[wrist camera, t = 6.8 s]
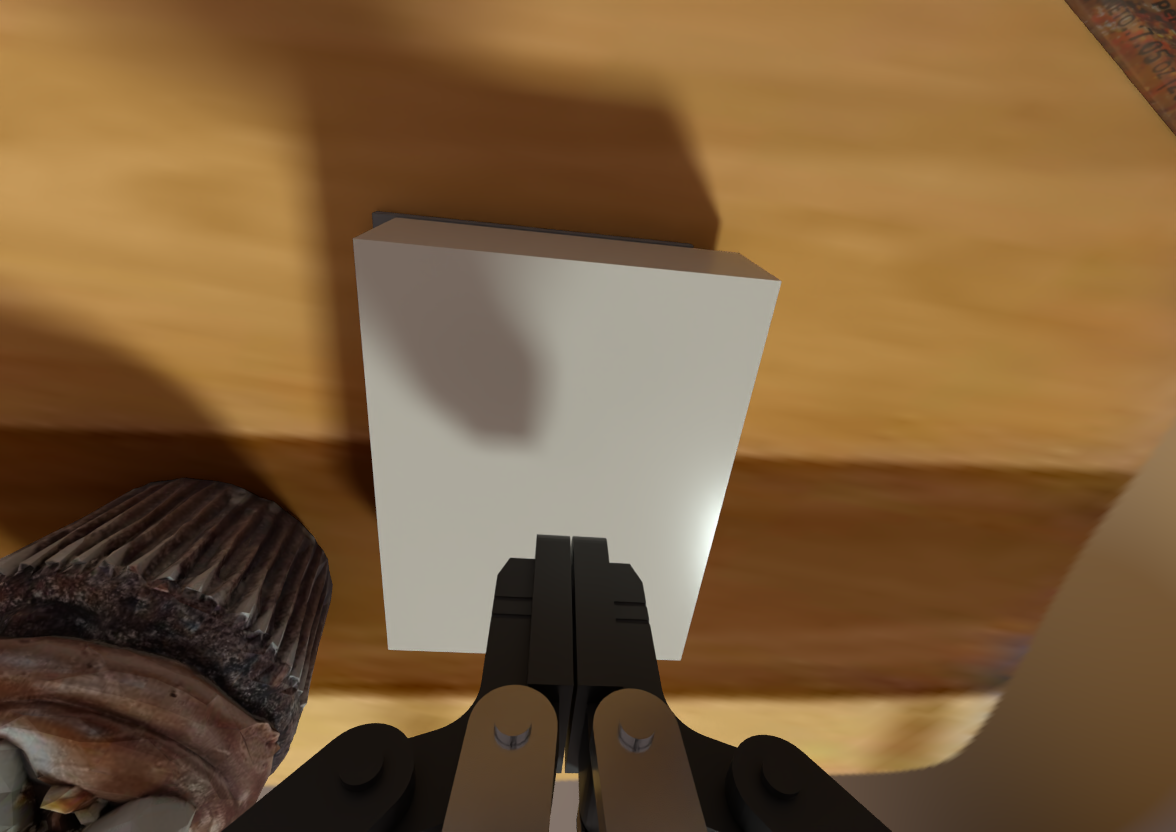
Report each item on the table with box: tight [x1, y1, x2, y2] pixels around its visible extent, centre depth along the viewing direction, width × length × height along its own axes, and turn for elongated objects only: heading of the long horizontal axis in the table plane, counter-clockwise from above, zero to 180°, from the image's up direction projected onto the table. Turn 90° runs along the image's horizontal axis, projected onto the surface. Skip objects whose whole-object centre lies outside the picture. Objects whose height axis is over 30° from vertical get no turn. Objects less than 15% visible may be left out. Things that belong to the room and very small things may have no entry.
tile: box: [353, 218, 781, 660], centre depth 16 cm, size 12×4×9 cm
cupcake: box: [0, 478, 332, 832], centre depth 15 cm, size 10×10×10 cm
